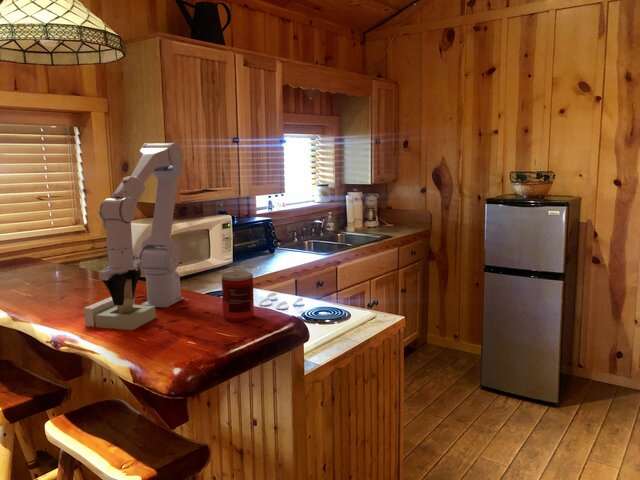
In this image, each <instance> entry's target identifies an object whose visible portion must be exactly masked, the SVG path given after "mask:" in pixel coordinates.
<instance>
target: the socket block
mask: <svg viewBox="0 0 640 480" xmlns="http://www.w3.org/2000/svg"><path fill="white" fill-rule="evenodd" d="M156 315H157V314H156V307H155V306H146V305H141V304H135V305H133V312H132V313H130V314H118V313H117V306H114V307H112V308H110V309H108V310H105V311H103V312H101V313H99V314H96V315H95V321H96V326H95V328H101V329H102V328H103V329H112V328H113V329H114V328H115V330H124V331H125V330H127V331H134V330H135V329H137V328H139V327H141V326H144V325H145V324H147V323H148V322H151V321H153V320H154V319H156V318H157V316H156Z"/></svg>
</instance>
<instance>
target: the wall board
mask: <svg viewBox="0 0 640 480" xmlns="http://www.w3.org/2000/svg"><path fill="white" fill-rule="evenodd" d="M133 305H136V304H135V298H134V299H133ZM114 306H117V305H114V303H113V300H112V297H111V296H109V297H107V298H105V299H102V300H100V301H98V302H95V303H92V304H90V305H87V306H85V307H84V308H83V317H84V326H85V327H90V326H92V327H91V328H93V327H94V326H95V327H96V321H95V315H96V314H99V313H101V312H103V311H105V310H108V309H110V308H112V307H114ZM95 327H94V328H95Z"/></svg>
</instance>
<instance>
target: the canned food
mask: <svg viewBox="0 0 640 480" xmlns="http://www.w3.org/2000/svg"><path fill="white" fill-rule="evenodd" d="M221 295H222V296H221V297H222V313H223V314H222V315H223V318H224V319H225V321H228V320H229V321H230V322H235V321H238V322H246V321H250V320H252V319H253V318H254V314H255V309H254V308H255V303H254V301H255V299H254V276H253V273H252V272H249V271H243V270H241V271H237V270H235V271H230V272H229V271H228V272H224V273H222V275H221ZM249 319H250V320H249Z"/></svg>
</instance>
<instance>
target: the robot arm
mask: <svg viewBox="0 0 640 480" xmlns="http://www.w3.org/2000/svg"><path fill="white" fill-rule="evenodd" d="M183 162H184V153H183V150H182V147H181V146H180V144H179V143H178V142H160V143H158V142H157V143H155V142H154V143H153V142H152V143H151V142H145V143H143V145H142V146H141V148H140V150H139V161H138V163H137V164H136V166H135V168H134V170H133V172H132V174H131V175H130V176H129V175H128V176H125V177H123V178H122V179H121V182H120V183H119V185H118V186H117V188H116V189H115V190H114V192H113V194H112V195H111V196H110V197H108V198H105V199H104V200H103V201H102V202H101V203H100V205H99V210H98V216H99V217H100V220H101V222H102V227H103V229H104V230H105V233H106V234H105V236H106V247H107V248H106V250H107V251H106V252H107V259H108V260H107V262H108V263H107V264H108V266H107V267H105V268H103V270H101V271H98V279H99V281H102V282H103V284H104V285H105V287H106V288H107V289H108V291H109V294H110V297H112V300H113V303H114V305H123V303H124V287H125V283H126V280H127V279H131V280H132V298H133V299H135V293H136V288H137V285H138V281H139V279H140V277H141V275H142V272H143V273H144V274H145V282H146V295H147V296H146V297H147V298H146V299H147V301H144V302H143V303H141V304H140V305H146V306H155V308H169V307H171V306H172V305H174V304H176V303H178V302H180V301H182V300H184V298H185V297H183V296H182V295H181V294H182V293H181V278H180V275H179V273H178V271H176V270H177V269H178V267H179V264H180V245H179V243H177V242H176V241H175V240H174V239H173V238H172V237H171V236H172V229H173V220H174V213H175V211H174V210H175V204H176V196H177V189H178V188H177V187H178V181H179V177H180V176H181V175H182V170H183ZM151 176H153V177H156V178H157V188H156V195H155V201H154V202H155V203H154V208H153V209H154V210H153V219H152V225H151V234H150V235H149V236H148V237H147V238H146V239H144V240H143V241H142V242H141V246H140V249H139V252H138V255H137V259H134V249H133V236H132V232H133V231H132V222H133V220H134V219H135V217H136V212H137V211H136V210H137V207H138V204H137V203H138V202H139V200H140V198H141V197H142V196H143V194H144V193H145V189H146V187H145V185H144V184H145V182H147V180H148V179H149V178H150V177H151ZM137 269H141V270H142V271H141V270H137Z"/></svg>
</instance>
